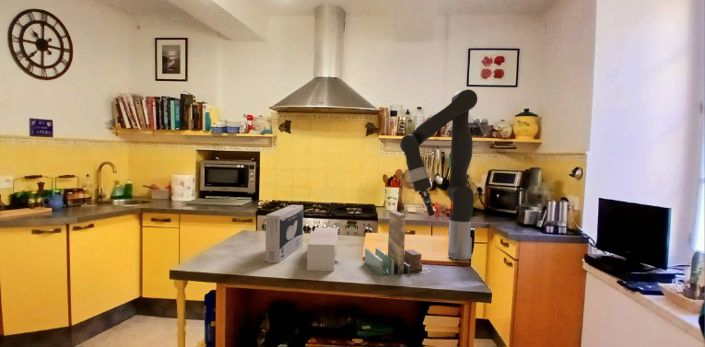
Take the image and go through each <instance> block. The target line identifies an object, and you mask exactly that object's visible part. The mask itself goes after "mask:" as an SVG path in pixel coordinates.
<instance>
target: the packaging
mask: <svg viewBox="0 0 705 347" xmlns="http://www.w3.org/2000/svg"><path fill="white" fill-rule="evenodd" d="M303 234H304V205H303V204H300V205H299V204H290V205H288V206H285V207H283V208H281V209H279V210H275V211H273V212H270V213H267V214H266V215H265V259H264V260H265V261H267V262H266V263H272V262H276V263H275V264H280V263H281V262H282V261H284V260H285V259H286V258H288V257H289V256H290V255H292V254H293V253H294V252H296V251H297V250H298V249H299V248H301V247H302V246H304V245H303V244H304V243H303V242H304V239H303V238H304V235H303Z"/></svg>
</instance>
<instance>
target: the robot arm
mask: <svg viewBox="0 0 705 347" xmlns="http://www.w3.org/2000/svg"><path fill="white" fill-rule="evenodd" d="M477 102H478V95H477V92H475V91H474V90H472V89H469V88H467V89H462V90H460V91H457V92H455V93H454V95H453V96H452V98H451V102H449V104H448V105H447V106H446V107H444V108H442V109H440V110H439V111H438V112H437V113H435V114H433V115H432V116H430V117H429V118H427V119H426V120H425V121H423V122H421V123H420V124H419V125H418V126H417V127H416V128H415V130H413V132H411V133H410V134H405V135H404V136H402V138H401V141H400V143H399V147H400V149H401V151H402V152H403V153H404V156H405V162H406V166H407V169H408V173H409V178H410V180H411V183H412V187H413V190H414V192H415V193H418V192H421V194H420V198H421V199H422V202H423V205H424V206H425V208H426V211H427V213H428V216H429V217H431V216H435V211H434V209H433V204H432V202H433V201H432V198H431V194H430V192H429V191H428V190H427V189H431V188H432V187H433V186H432V184H431V180H430V177H429V174H428V171H427V169H426V167H425V164H424V161H423V159H422V155H421V149H420V146H421V145H422V144H424V142H425V141H426V140H428V139H430V138H431V137H433V135H435V134H436V133H438V132H439V131H441V129H442V128H443V127H445V126H447V124H449V123H450V122H451V121H452V127H451V143H450V144H451V146H450V178H449V185H448V191H447V192H448V198H449V200H450V201H451V202H452V210H451V212H450V213H449V222H448V223H449V224H448V226H449V228H448V247H447V257H448V256H449V257H451V258H455V259H463V260H462V261H467V260H469V259H471V258H472V243H473V238H472V237H471V222H472V221H471V219H472V216H473V213H474V212H473V211H474V201H475V200H474V199H475V196H474V191H473V189H472V188H471V187H470V186H468V185H467V173H468V169H469V166H470V164H471V161H472V158H473V147H474V145H473V137H472V132H471V129H470V125H469V116H470V114H469V113H470V110H472V109H473V108H475V106H476V105H477ZM449 257H448V258H449ZM451 258H450V259H451ZM455 259H454V260H455Z"/></svg>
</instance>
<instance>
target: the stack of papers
mask: <svg viewBox="0 0 705 347" xmlns="http://www.w3.org/2000/svg"><path fill="white" fill-rule="evenodd" d="M338 234H339V228H338V227H325V226H324V227H319V226H318V227H317V226H315V228H314V230H313V232H312V234H311V237H310V238H309V241H308V242H307V245H306V246H307V252H306V253H307V258H306V259H307V260H306V262H307V264H306V267H307V268H306V269H307V270H306V271H308V270H319V271H320V270H321V272H334V271H335V268H336V267H335V266H336V260H337V258H336V257H337V254H338V253H337V252H338V237H339V236H338Z"/></svg>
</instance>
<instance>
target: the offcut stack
mask: <svg viewBox="0 0 705 347" xmlns="http://www.w3.org/2000/svg"><path fill="white" fill-rule="evenodd" d="M421 260H422V253H420V252H418V251H417V250H415V249H404V262H405V263H407V264H408V265H410V270H422V266H423V264H422V263H421Z"/></svg>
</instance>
